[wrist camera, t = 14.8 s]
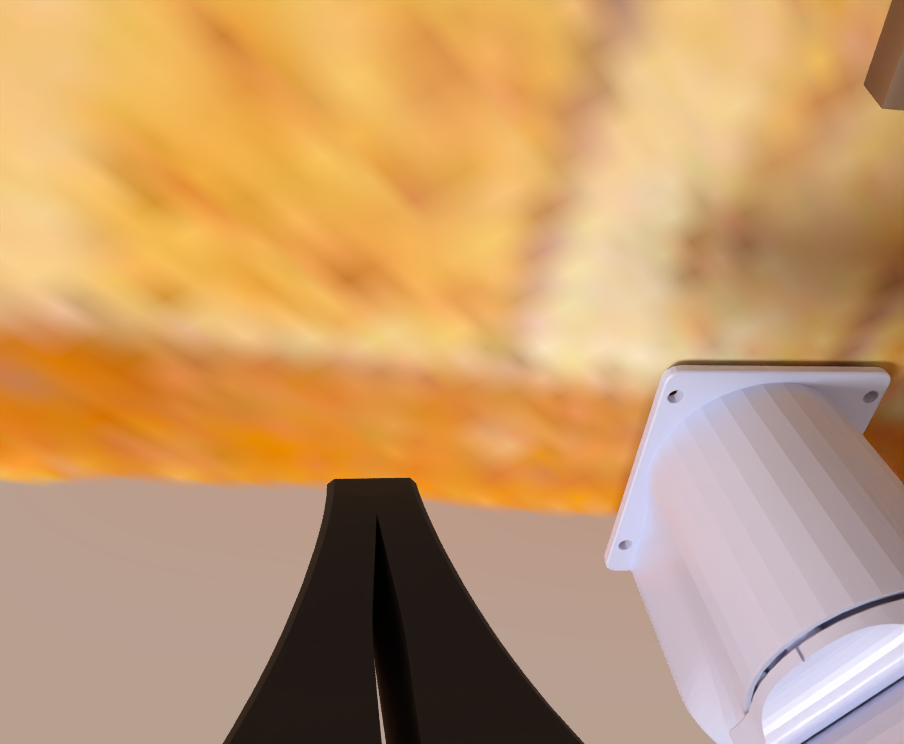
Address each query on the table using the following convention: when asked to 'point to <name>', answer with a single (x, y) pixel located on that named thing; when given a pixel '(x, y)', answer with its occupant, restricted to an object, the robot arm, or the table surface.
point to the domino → (889, 61)
